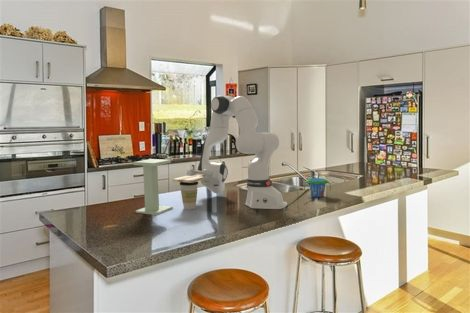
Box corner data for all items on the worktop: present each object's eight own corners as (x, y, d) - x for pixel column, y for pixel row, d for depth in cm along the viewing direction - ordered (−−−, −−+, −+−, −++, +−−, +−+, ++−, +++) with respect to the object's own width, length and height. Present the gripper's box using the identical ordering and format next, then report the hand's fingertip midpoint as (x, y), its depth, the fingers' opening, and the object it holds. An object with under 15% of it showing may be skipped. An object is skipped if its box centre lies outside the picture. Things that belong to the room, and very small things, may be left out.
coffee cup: (195, 210, 193) (195, 182, 191) (177, 210, 195) (176, 181, 193) (201, 206, 202) (200, 178, 201) (183, 205, 204) (183, 178, 202)
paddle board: (212, 176, 208) (212, 174, 208) (192, 182, 189) (192, 180, 189) (193, 175, 213) (193, 173, 213) (172, 181, 194) (172, 179, 194)
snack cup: (302, 197, 219) (302, 180, 218) (305, 193, 229) (305, 177, 228) (329, 199, 214) (330, 181, 212) (331, 195, 223) (331, 178, 222)
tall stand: (172, 208, 198) (171, 159, 195) (156, 215, 186) (154, 163, 183) (152, 206, 204) (150, 158, 201) (135, 212, 191) (133, 162, 188)
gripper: (194, 173, 222) (182, 164, 210) (225, 175, 213) (215, 166, 201) (191, 183, 219) (180, 175, 208) (223, 185, 211) (212, 177, 199)
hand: (197, 170), depth 205 cm, fingers open, 8 cm apart
